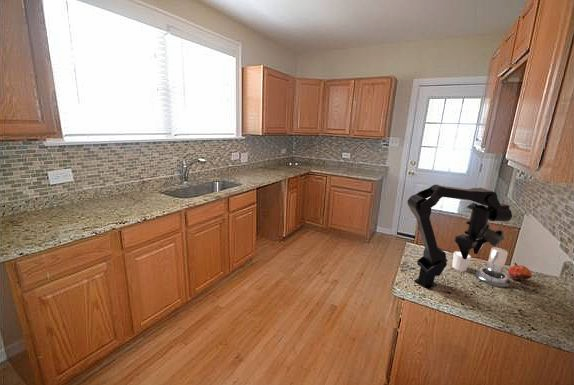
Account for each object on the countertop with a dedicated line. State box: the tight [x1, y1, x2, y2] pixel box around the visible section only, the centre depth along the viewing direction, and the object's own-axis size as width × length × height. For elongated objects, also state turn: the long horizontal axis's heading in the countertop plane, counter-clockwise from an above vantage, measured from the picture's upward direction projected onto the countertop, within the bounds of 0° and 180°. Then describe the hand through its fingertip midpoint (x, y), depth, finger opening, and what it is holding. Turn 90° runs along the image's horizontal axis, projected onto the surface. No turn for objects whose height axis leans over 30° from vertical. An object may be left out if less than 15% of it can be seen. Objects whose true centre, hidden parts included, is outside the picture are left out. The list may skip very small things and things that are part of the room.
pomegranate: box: [507, 262, 533, 286], centre depth 113 cm, size 7×7×10 cm
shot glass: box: [451, 250, 472, 272], centre depth 121 cm, size 7×7×7 cm
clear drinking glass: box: [485, 246, 509, 279], centre depth 112 cm, size 6×6×13 cm
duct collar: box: [474, 266, 511, 289], centre depth 114 cm, size 12×12×3 cm
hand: (470, 256), depth 106 cm, fingers open, 9 cm apart
